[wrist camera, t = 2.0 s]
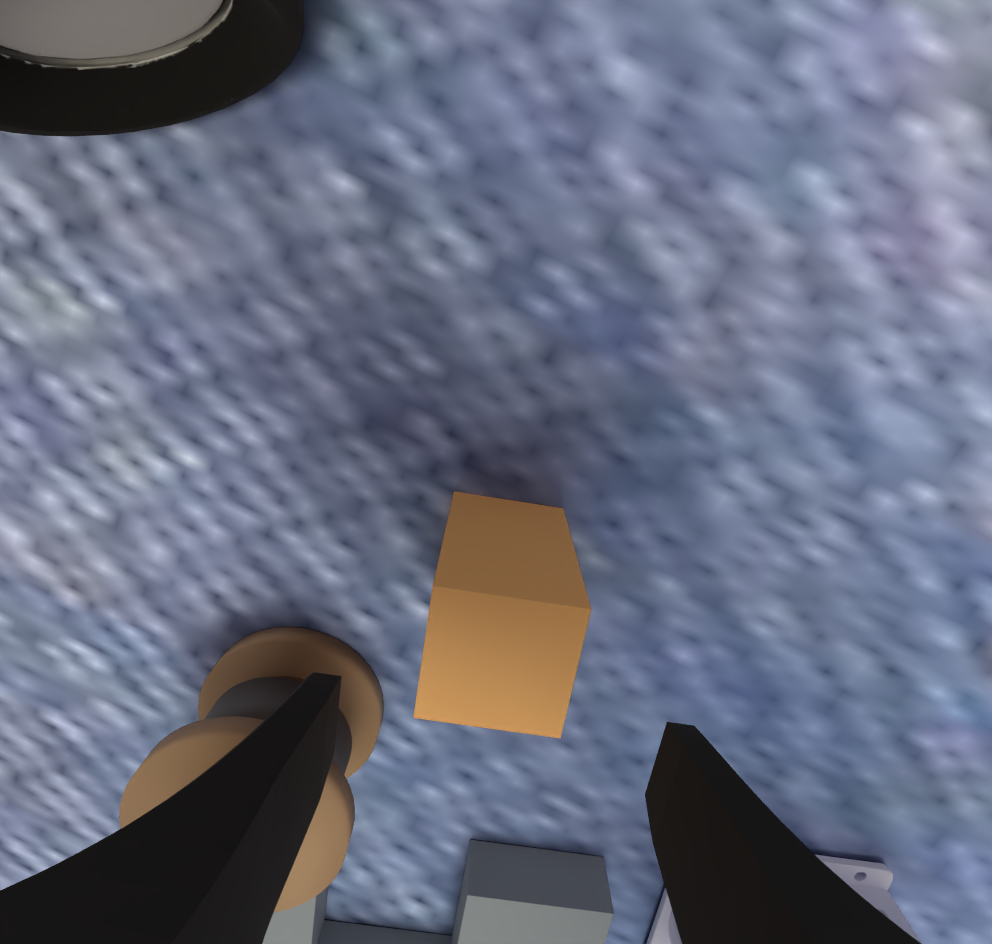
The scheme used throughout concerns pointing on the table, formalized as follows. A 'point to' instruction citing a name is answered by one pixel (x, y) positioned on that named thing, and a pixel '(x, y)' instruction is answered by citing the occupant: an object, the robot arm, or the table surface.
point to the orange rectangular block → (503, 619)
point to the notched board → (486, 904)
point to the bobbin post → (242, 708)
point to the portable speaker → (136, 60)
